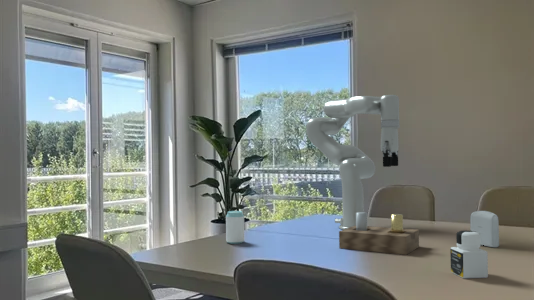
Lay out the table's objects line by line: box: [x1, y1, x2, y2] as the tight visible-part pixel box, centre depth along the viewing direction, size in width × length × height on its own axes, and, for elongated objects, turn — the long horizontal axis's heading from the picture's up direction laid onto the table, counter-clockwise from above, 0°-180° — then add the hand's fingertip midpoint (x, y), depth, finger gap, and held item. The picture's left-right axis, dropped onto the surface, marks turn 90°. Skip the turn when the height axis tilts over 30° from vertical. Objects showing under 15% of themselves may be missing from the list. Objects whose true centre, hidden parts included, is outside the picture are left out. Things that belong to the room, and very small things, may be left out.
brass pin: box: [390, 213, 404, 234], centre depth 167 cm, size 4×4×10 cm
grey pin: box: [356, 211, 368, 231], centre depth 174 cm, size 4×4×10 cm
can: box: [225, 210, 245, 245], centre depth 184 cm, size 7×7×12 cm
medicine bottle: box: [450, 230, 489, 280], centre depth 130 cm, size 7×7×12 cm
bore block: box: [338, 225, 420, 256], centre depth 170 cm, size 24×16×6 cm, turn 58°
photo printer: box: [469, 210, 500, 248], centre depth 171 cm, size 10×4×12 cm, turn 26°
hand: (390, 166), depth 196 cm, fingers open, 9 cm apart
